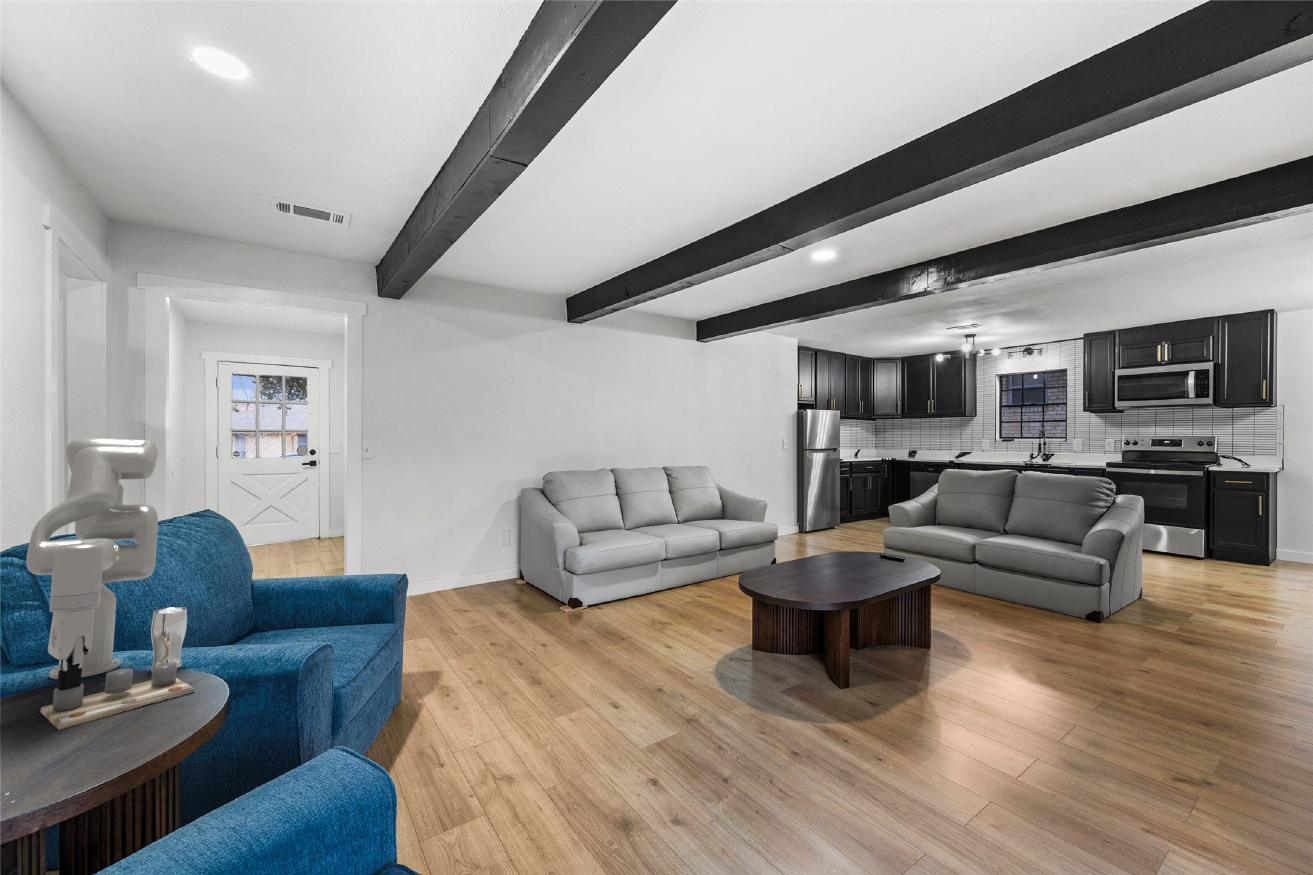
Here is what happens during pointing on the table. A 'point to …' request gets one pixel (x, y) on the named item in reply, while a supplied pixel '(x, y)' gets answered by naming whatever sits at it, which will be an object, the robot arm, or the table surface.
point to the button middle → (119, 681)
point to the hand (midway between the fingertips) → (68, 687)
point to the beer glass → (168, 635)
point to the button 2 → (164, 674)
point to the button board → (114, 703)
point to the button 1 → (68, 698)
